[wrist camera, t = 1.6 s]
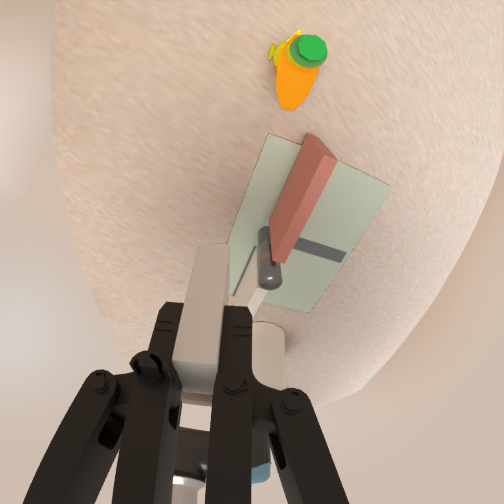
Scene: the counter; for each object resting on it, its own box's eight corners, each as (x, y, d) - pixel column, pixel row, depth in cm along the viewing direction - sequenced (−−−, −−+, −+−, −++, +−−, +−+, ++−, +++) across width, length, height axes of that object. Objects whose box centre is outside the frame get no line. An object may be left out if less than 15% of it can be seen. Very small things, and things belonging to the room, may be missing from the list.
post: (272, 244, 33) (276, 292, 27) (255, 238, 33) (255, 287, 26) (279, 229, 32) (286, 276, 25) (261, 223, 31) (263, 270, 25)
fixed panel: (242, 297, 39) (241, 338, 33) (234, 295, 38) (231, 336, 33) (266, 248, 33) (268, 290, 28) (256, 246, 33) (256, 287, 28)
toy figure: (294, 102, 23) (324, 126, 14) (257, 94, 23) (261, 110, 13) (310, 40, 19) (353, 21, 10) (273, 31, 19) (288, 0, 9)
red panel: (278, 223, 31) (284, 263, 25) (268, 220, 31) (272, 260, 25) (318, 138, 25) (338, 160, 19) (307, 133, 25) (324, 154, 19)
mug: (214, 347, 47) (208, 408, 38) (214, 317, 42) (206, 387, 32) (280, 351, 48) (283, 411, 38) (289, 322, 43) (296, 391, 33)
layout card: (308, 311, 41) (308, 312, 41) (211, 288, 38) (210, 289, 38) (390, 185, 28) (391, 186, 28) (268, 133, 25) (268, 134, 25)
